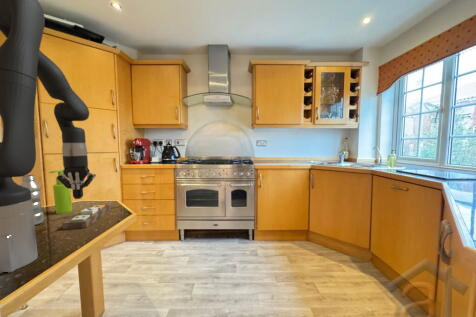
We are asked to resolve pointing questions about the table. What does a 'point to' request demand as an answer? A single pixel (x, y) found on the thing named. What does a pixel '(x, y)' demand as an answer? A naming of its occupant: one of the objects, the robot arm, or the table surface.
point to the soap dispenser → (61, 196)
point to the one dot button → (99, 206)
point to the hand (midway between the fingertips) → (78, 198)
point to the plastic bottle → (34, 197)
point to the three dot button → (89, 211)
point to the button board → (88, 221)
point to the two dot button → (80, 218)
